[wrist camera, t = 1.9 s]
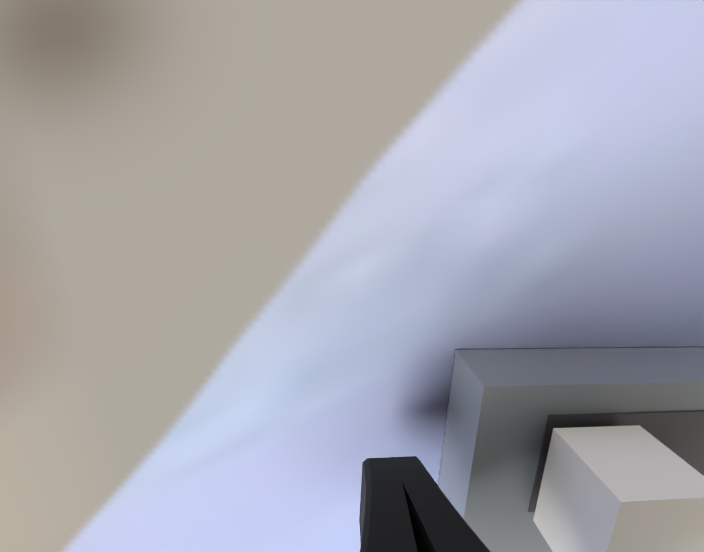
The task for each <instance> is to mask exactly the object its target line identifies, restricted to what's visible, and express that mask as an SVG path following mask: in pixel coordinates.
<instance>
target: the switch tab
mask: <svg viewBox="0 0 704 552" xmlns="http://www.w3.org/2000/svg"><path fill="white" fill-rule="evenodd" d="M533 521H534V523H535V524H536V526H537V528H538V529H539V531H540V532H541V534H542V536H543V537H544V539H545V540H546V542H547V544H548V545H549V547H550V548H551V550H552V552H704V476H703V475H702V474H701V473H699V472H698V471H697V470H696V469H694V468H693V467H692V466H690V465H689V464H688V463H687V462H685V461H684V460H683V459H682V458H680V457H679V456H678V455H677V454H675V453H674V452H673V451H671V450H670V449H669V448H668V447H666V446H665V445H664V444H663V443H661V442H660V441H659V440H657V439H656V438H655V437H654V436H652V435H651V434H650V433H649V432H647V431H646V430H645V429H644V428H642V427H641V426H640V425H633V426H604V427H574V428H553V432H552V436H551V441H550V446H549V450H548V455H547V459H546V464H545V468H544V473H543V478H542V482H541V487H540V491H539V496H538V500H537V505H536V509H535V514H534V519H533Z"/></svg>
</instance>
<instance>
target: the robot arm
mask: <svg viewBox="0 0 704 552" xmlns="http://www.w3.org/2000/svg"><path fill="white" fill-rule="evenodd" d="M360 536H361V549H360V552H491V551H490V550H489V549H488V548H487V547H486V546H485V544H484V543H483V542H482V541H481V540H480V538H479V537H478V536H477V535H476V534H475V532H474V531H473V530H472V529H471V527H470V526H469V525H468V524H467V523H466V521H465V520H464V519H463V518H462V516H461V515H460V514H459V513H458V511H457V510H456V509H455V508H454V506H453V505H452V504H451V502H450V501H449V500H448V498H447V497H446V496H445V494H444V493H443V492H442V490H441V489H440V488H439V486H438V485H437V484H436V482H435V481H434V480H433V478H432V477H431V475H430V474H429V473H428V471H427V470H426V468H425V467H424V466H423V464H422V463H421V461H420V460H419V459H418V458H417V457H416V456H415V457H391V458H368V459H366V460H365V461H364V462H363V467H362V485H361V503H360Z"/></svg>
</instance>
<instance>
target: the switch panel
mask: <svg viewBox="0 0 704 552" xmlns="http://www.w3.org/2000/svg"><path fill="white" fill-rule="evenodd" d="M633 425H640V426H641V427H642V428H644V429H645V430H646V431H647V432H649V433H650V434H651V435H652V436H654V437H655V438H656V439H657V440H659V441H660V442H661V443H663V444H664V445H665V446H666V447H668V448H669V449H670V450H671V451H673V452H674V453H675V454H677V455H678V456H679V457H680V458H682V459H683V460H684V461H685V462H687V463H688V464H689V465H690V466H692V467H693V468H694V469H696V470H697V471H698V472H699V473H701V474H702V475H703V476H704V347H658V348H559V349H461V350H455V356H454V364H453V372H452V380H451V388H450V396H449V404H448V412H447V419H446V427H445V435H444V443H443V451H442V459H441V467H440V475H439V483H438V486H439V488H440V489H441V490H442V492H443V493H444V494H445V496H446V497H447V498H448V500H449V501H450V502H451V504H452V505H453V506H454V508H455V509H456V510H457V511H458V513H459V514H460V515H461V516H462V518H463V519H464V520H465V521H466V523H467V524H468V525H469V526H470V527H471V529H472V530H473V531H474V532H475V534H476V535H477V536H478V537H479V538H480V540H481V541H482V542H483V543H484V544H485V546H486V547H487V548H488V549H489V550H490V551H491V552H552V550H551V548H550V547H549V545H548V544H547V542H546V540H545V539H544V537H543V536H542V534H541V532H540V531H539V529H538V528H537V526H536V524H535V523H534V521H533V519H534V514H535V509H536V505H537V500H538V496H539V491H540V487H541V482H542V478H543V473H544V468H545V464H546V459H547V455H548V450H549V446H550V441H551V436H552V432H553V428H574V427H604V426H633Z"/></svg>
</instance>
